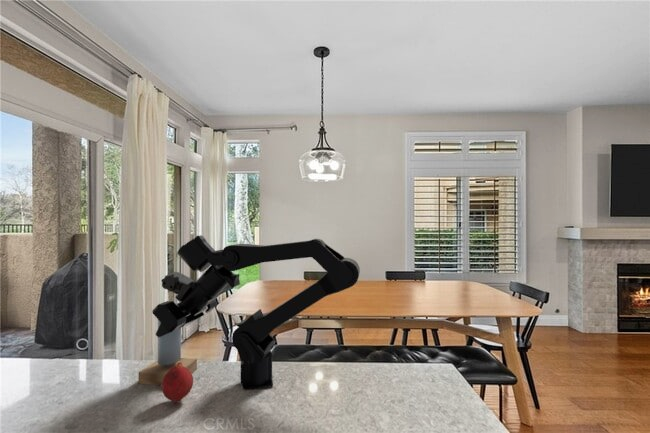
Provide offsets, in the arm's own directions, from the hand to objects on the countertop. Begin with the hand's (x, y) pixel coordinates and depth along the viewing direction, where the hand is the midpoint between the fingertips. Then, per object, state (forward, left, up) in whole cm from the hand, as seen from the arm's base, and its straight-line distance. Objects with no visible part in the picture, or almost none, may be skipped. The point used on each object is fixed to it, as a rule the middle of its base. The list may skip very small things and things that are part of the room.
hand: (164, 332), depth 82 cm
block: (-1, +1, -10) cm, 10 cm away
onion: (-5, +14, -10) cm, 18 cm away
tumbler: (-1, +1, -7) cm, 7 cm away
